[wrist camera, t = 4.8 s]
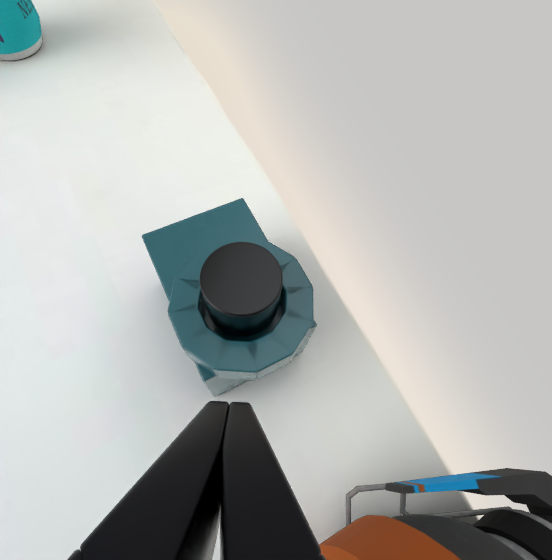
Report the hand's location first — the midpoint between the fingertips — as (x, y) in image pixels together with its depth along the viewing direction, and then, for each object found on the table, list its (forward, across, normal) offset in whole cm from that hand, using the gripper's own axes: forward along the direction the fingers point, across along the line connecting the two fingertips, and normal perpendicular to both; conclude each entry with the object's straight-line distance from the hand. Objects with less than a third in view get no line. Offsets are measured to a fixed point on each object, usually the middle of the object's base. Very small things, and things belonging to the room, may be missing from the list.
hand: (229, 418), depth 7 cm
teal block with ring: (+14, +1, +4) cm, 14 cm away
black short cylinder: (+8, 0, +1) cm, 8 cm away
